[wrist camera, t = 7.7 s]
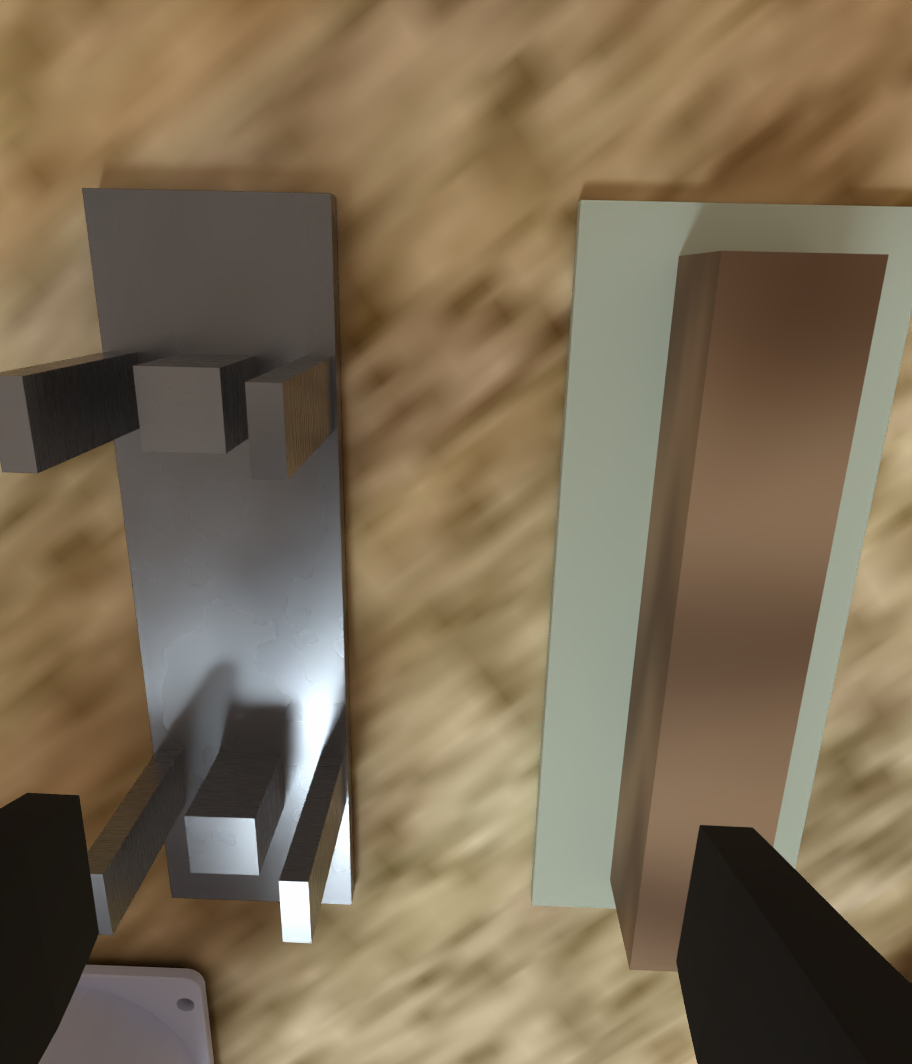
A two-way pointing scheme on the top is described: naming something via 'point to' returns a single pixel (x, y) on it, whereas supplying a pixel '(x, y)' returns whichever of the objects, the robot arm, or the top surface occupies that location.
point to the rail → (734, 559)
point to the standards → (219, 536)
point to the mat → (626, 495)
